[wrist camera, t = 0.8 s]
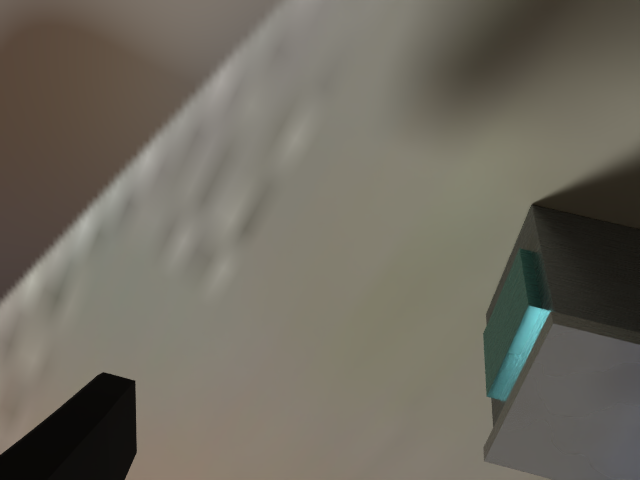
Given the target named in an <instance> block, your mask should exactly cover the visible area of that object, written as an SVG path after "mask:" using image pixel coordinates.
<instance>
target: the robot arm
mask: <svg viewBox="0 0 640 480" xmlns="http://www.w3.org/2000/svg"><path fill="white" fill-rule="evenodd" d="M136 453H137V443H136V394H135V381H134V380H130V379H127V378H123V377H119V376H115V375H112V374H108V373H104V372H103V373H101V374H99V375H97V376H96V377H95V378H94V379H93V380H92V381H90V382H89V383H88V384H87V385H86V386H85V387H83V388H82V389H81V390H80V391H79V392H78V393H76V394H75V395H74V396H73V397H72V398H71V399H69V400H68V401H67V402H66V403H65V404H63V405H62V406H61V407H60V408H59V409H57V410H56V411H55V412H54V413H53V414H51V415H50V416H49V417H48V418H46V419H45V420H44V421H43V422H42V423H40V424H39V425H38V426H37V427H35V428H34V429H33V430H32V431H30V432H29V433H28V434H27V435H25V436H24V437H23V438H22V439H20V440H19V441H18V442H16V443H15V444H14V445H13V446H11V447H10V448H9V449H7V450H6V451H5V452H4V453H2V454H1V455H0V480H125V478H126V475H127V473H128V471H129V469H130V466H131V464H132V462H133V460H134V457H135V455H136Z"/></svg>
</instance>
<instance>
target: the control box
mask: <svg viewBox="0 0 640 480" xmlns="http://www.w3.org/2000/svg"><path fill="white" fill-rule="evenodd" d="M486 321H487V326H486V329H485V331H484V333H483V337H484V355H485V374H486V392H487V397H491V400H492V416H493V429H492V431H491V433H490V435H489V437H488V439H487V441H486V443H485V445H484V461H486V462H489V463H493V464H497V465H501V466H504V467H508V468H512V469H516V470H519V471H523V472H527V473H530V474H534V475H538V476H542V477H545V478H549V479H553V480H640V230H638V229H634V228H630V227H625V226H621V225H617V224H613V223H608V222H604V221H600V220H595V219H591V218H587V217H582V216H578V215H574V214H570V213H565V212H561V211H557V210H552V209H548V208H544V207H540V206H535V205H531V207H530V209H529V212H528V214H527V217H526V219H525V222H524V224H523V226H522V229H521V231H520V234H519V236H518V238H517V241H516V243H515V246H514V248H513V251H512V253H511V255H510V258H509V260H508V263H507V265H506V267H505V270H504V272H503V275H502V277H501V280H500V282H499V284H498V287H497V289H496V292H495V294H494V297H493V299H492V301H491V304H490V306H489V309H488V311H487V313H486Z"/></svg>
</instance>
